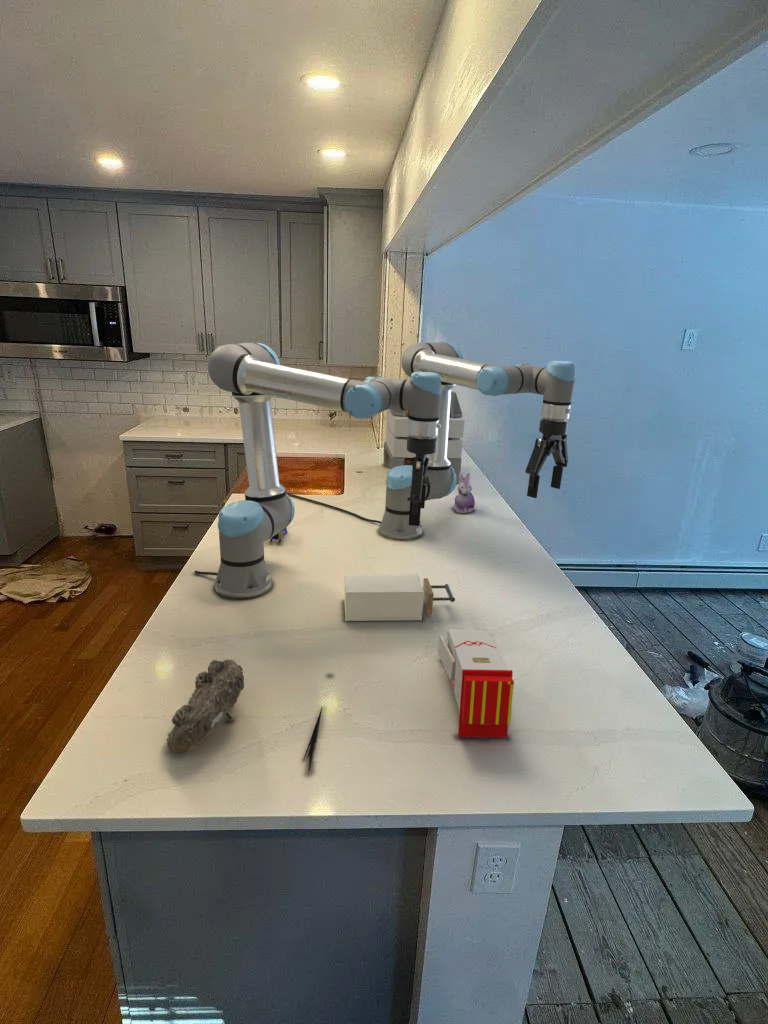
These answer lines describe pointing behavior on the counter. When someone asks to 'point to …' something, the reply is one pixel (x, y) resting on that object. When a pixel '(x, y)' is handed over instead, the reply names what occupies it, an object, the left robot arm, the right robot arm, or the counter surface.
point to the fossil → (206, 705)
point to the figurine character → (279, 536)
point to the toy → (478, 682)
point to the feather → (313, 740)
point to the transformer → (398, 435)
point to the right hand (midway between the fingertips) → (543, 492)
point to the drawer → (429, 595)
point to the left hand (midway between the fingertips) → (416, 516)
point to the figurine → (464, 496)
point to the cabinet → (383, 597)
